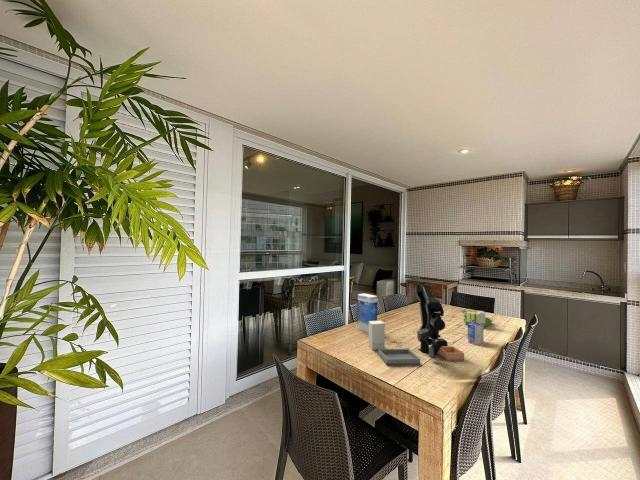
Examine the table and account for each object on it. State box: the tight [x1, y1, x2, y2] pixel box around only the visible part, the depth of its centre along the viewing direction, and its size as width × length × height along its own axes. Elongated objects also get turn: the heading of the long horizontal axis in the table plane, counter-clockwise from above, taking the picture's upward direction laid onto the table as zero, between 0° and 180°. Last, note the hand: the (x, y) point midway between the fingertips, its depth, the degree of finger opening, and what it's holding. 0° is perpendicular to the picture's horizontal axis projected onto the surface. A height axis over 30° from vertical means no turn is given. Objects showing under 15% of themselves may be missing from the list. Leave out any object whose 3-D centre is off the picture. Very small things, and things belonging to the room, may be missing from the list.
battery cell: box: [428, 344, 438, 359], centre depth 149 cm, size 4×4×7 cm
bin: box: [437, 345, 465, 362], centre depth 156 cm, size 10×10×4 cm
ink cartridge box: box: [467, 320, 485, 346], centre depth 180 cm, size 10×6×14 cm, turn 121°
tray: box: [377, 348, 421, 366], centre depth 151 cm, size 14×18×3 cm
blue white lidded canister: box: [357, 293, 378, 335], centre depth 199 cm, size 13×8×26 cm, turn 35°
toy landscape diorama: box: [460, 308, 493, 328], centre depth 223 cm, size 35×20×13 cm, turn 136°
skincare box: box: [368, 320, 386, 351], centre depth 167 cm, size 8×7×16 cm
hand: (432, 353), depth 149 cm, fingers closed on battery cell, 4 cm apart
